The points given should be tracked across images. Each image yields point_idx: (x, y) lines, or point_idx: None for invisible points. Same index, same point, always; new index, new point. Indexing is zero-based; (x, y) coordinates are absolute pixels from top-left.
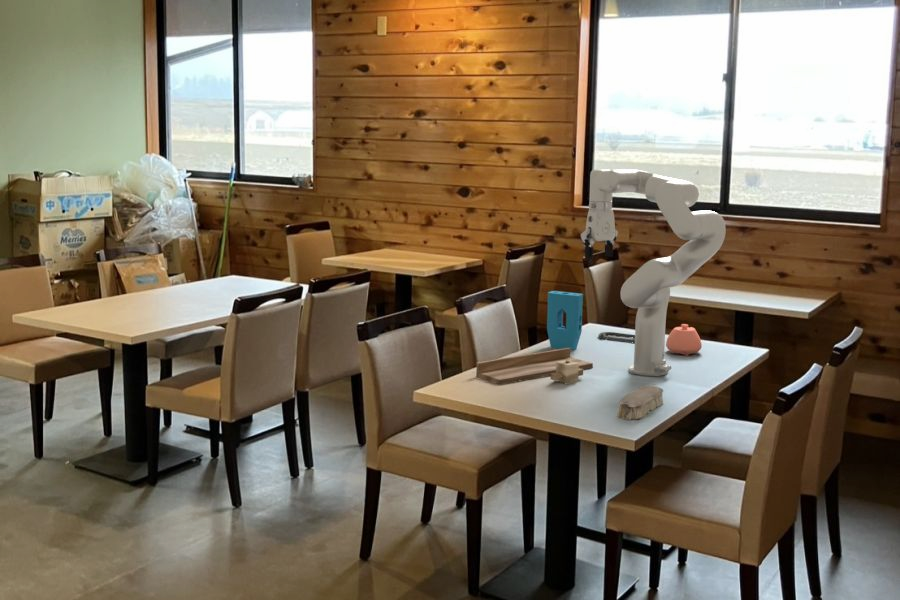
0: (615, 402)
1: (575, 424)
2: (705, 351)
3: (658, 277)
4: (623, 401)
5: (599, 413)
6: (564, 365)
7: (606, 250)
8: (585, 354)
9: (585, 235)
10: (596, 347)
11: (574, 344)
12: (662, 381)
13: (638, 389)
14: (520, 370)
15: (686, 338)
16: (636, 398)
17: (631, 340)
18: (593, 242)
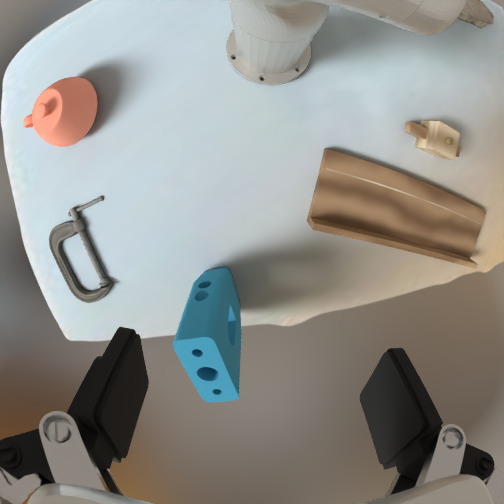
0: (455, 36)
1: None
2: None
3: None
4: (491, 18)
5: (489, 46)
6: (457, 138)
7: (133, 408)
8: (233, 228)
9: (502, 498)
10: (165, 250)
11: (221, 270)
12: None
13: None
14: (442, 221)
15: (74, 85)
16: (477, 4)
17: (83, 231)
18: (434, 472)
